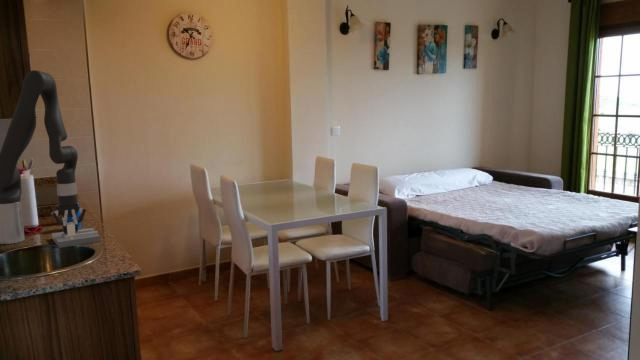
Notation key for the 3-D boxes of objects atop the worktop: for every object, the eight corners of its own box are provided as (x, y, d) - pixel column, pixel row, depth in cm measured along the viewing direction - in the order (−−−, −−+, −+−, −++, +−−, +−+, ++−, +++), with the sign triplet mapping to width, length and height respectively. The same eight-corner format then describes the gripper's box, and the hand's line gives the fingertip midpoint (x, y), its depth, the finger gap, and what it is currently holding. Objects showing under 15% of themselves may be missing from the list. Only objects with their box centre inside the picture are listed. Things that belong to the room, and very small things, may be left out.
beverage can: (84, 227, 247) (82, 202, 246) (76, 230, 241) (74, 205, 239) (71, 227, 248) (69, 202, 246) (63, 230, 242) (61, 205, 240)
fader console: (59, 247, 212) (58, 239, 212) (52, 238, 227) (51, 231, 226) (100, 241, 221) (99, 233, 221) (91, 233, 236) (90, 225, 235)
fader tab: (67, 236, 219) (66, 224, 218) (66, 234, 222) (65, 223, 222) (75, 235, 221) (74, 223, 220) (73, 233, 224) (72, 222, 223)
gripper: (50, 196, 212) (54, 237, 215) (87, 192, 220) (90, 232, 223) (47, 194, 218) (51, 234, 221) (83, 190, 226) (86, 229, 229)
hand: (70, 233), depth 222 cm, fingers closed on fader tab, 3 cm apart
